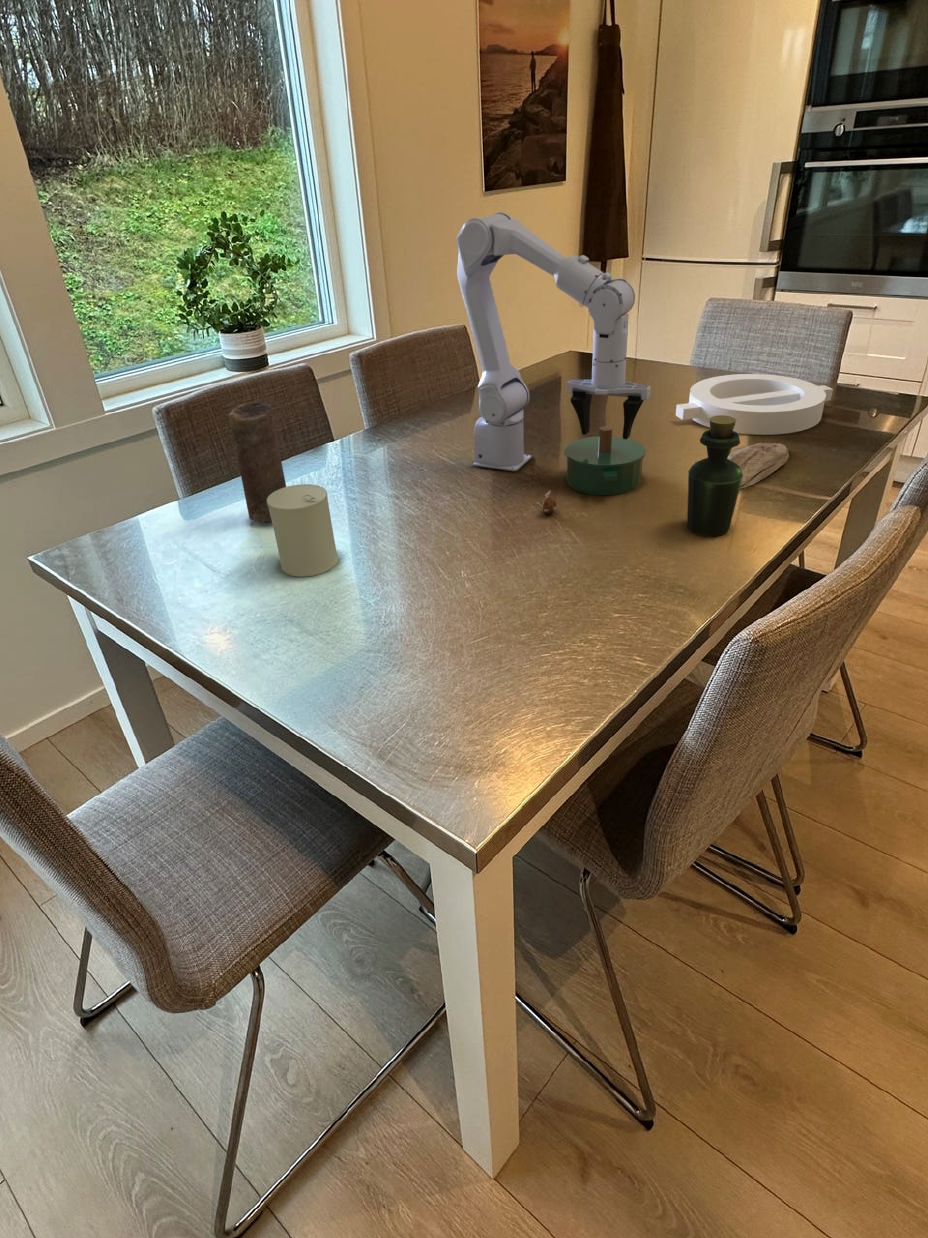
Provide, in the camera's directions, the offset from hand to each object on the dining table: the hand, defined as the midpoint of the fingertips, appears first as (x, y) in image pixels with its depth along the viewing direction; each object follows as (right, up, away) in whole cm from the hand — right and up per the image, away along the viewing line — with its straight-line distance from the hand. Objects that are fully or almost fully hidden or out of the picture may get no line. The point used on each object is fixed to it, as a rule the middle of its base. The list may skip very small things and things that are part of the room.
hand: (605, 435), depth 134 cm
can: (-50, -24, -16) cm, 58 cm away
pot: (+1, -7, +5) cm, 9 cm away
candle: (-60, -15, -1) cm, 62 cm away
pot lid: (0, -3, +2) cm, 3 cm away
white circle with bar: (+39, +13, +31) cm, 51 cm away
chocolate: (-11, -15, -6) cm, 20 cm away
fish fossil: (+27, -5, +6) cm, 28 cm away
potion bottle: (+14, -19, -14) cm, 27 cm away
